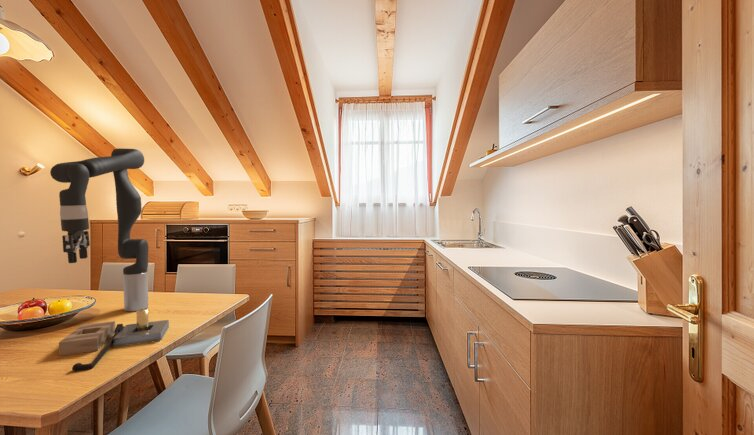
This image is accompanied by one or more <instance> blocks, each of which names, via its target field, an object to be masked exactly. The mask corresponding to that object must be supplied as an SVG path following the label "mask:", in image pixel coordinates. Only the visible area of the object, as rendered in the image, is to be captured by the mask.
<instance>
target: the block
mask: <svg viewBox="0 0 754 435" xmlns="http://www.w3.org/2000/svg"><path fill="white" fill-rule="evenodd" d="M124 326H125V327H124V328H123V329H122V330H121V331H120V332H119V333H118V334H117V335H116V336H115V337H114V339H113V340H114V343H113V348H114V347H123V346H124V347H125V346H130V345H131V344H132V345H138V343H140V344H146V343H145V342H147V343H153V342H152V341H154V342H160V340H161V341H162V340H163V338H164V336H165V335H166V333H167V331H168V330H169V328H170V320H169V319H166V320H155V321H149V330H147V331H139V332H137V323H131V324H125V325H124Z"/></svg>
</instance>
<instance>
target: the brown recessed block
mask: <svg viewBox="0 0 754 435" xmlns="http://www.w3.org/2000/svg"><path fill="white" fill-rule="evenodd" d="M115 328H116V321H115V320H113V321H102V322H93V323H85V324H81V325H80V326H79V327H77V328H76V329H75V330H73V331H72V332H71V333H69V334H68V335H67V336H66V337H64V338H63V339H61V340H60V341H59V342H58V356H59V357H62V356H68V355H69V356H70V354H71V355H76V353H78V354H84V353H83V352H85V353H91V352H90V351H92V352H98V351H99V350H100V349H101V348H102V347H103V346H104V345H106V343H107V342H108V341H109V340H110V339H111V338H112V337H113V335H114V334H115ZM111 336H112V337H111ZM110 337H111V338H110ZM109 338H110V339H109ZM108 339H109V340H108ZM107 340H108V341H107ZM106 341H107V342H106ZM105 342H106V343H105ZM103 344H104V345H103ZM100 347H101V348H100ZM98 349H99V350H98Z"/></svg>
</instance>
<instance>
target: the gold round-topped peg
mask: <svg viewBox="0 0 754 435" xmlns="http://www.w3.org/2000/svg"><path fill="white" fill-rule="evenodd" d="M135 312H136V313H135V314H136V324H137V332H139V331H147V330H149V322H150V321H149V308H145V309H140V310H137V311H135Z"/></svg>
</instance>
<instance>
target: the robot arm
mask: <svg viewBox="0 0 754 435" xmlns="http://www.w3.org/2000/svg"><path fill="white" fill-rule="evenodd" d="M144 164H145V156H144V154H143V153H142V151H140V150H139V149H136V148H124V147H123V148H119V147H118V148H115V149H113V150H112V151H111V154H110V155H109V156H99V157H97V156H96V157H93V158H87V159H86V158H85V159H83V160H77V161H69V162H68V161H65V162H60V163H57V164H54V165H53V166H52V168H51V169H50V173H49V174H50V176H51V178H52V179H53V180H54V181H55V182H58V183H61V184H62V183H64V184H67V183H69V187H68V188H65V189H61V190H60V191H59V194H58V195H59V198H58V199H59V206H60V207H59V217H60V227H61V232H67V234H66V235H62V237H61V238H62V249H63V250H62V252H63V253H66V254H67V261H68V263H69V264H76V263H78V257H77V256H79V259H81V260H83V259H87V258H88V249H89V247H90V246H91V244H90V234H89V231H88V230H89V229H90V224H89V223H90V222H89V213H88V207H87V202H86V201H87V200H86V199H87V198H86V193H87V190H88V185H89V180H90V178H96V177H98V176H102V175H106V174H109V173H112V174H113V179H114V186H115V202H116V203H115V204H116V214H117V229H118V230H117V253H118V256H119V257H120V258H121V259H122V260H127V259H129V260H130V259H131V260H132V259H135V262H134V263H132V264H131V265H127V266H125V267H124V268H123V269H122V276H123V277H122V280H123V309H124V312H136V311H137V310H140V309H148V308H149V280H148V266H149V243H148V241H147V240H146V239H145V238H144V239H143V238H131V231H132V228H133V226H134V224H135V223H136V222H137V220H138V219H139V217H140V216H141V213H142V211H143V210H142V209H143V208H142V198H141V195H140V194H139V191H138V190H137V189H136V188H135V187H134V185H133V183H132V182H131V180H130V178H129V172H128V170H137V169H140V168H142V167H143V165H144ZM77 249H78V254H79V255H77Z"/></svg>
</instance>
